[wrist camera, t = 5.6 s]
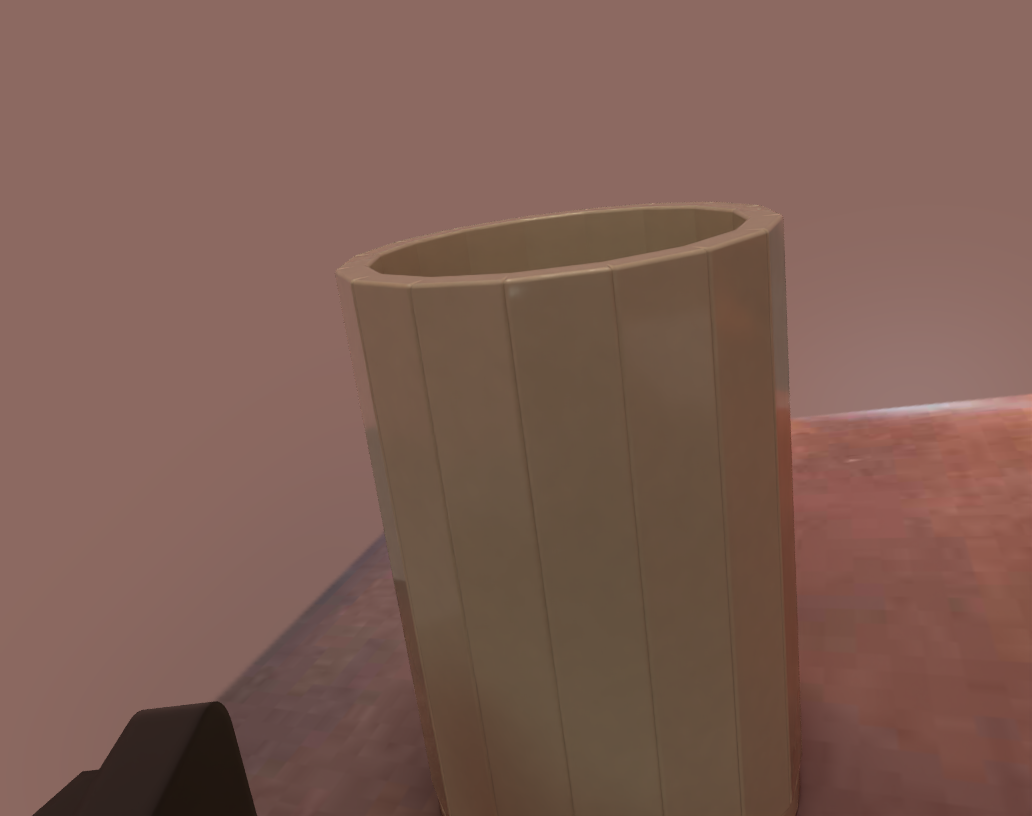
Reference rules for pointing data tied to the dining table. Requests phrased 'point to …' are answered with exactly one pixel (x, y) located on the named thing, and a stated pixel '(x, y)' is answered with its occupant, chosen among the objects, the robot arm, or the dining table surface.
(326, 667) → the dining table surface
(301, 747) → the dining table surface
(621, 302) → the cup
